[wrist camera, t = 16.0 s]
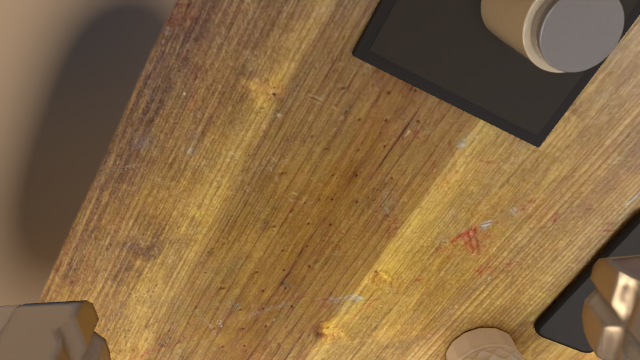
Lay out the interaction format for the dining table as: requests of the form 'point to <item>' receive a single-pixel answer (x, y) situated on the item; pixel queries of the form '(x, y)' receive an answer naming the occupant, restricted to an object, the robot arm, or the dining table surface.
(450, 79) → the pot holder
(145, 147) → the dining table surface
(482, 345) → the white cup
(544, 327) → the smartphone
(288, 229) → the dining table surface
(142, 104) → the dining table surface
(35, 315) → the robot arm
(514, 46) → the salt shaker
